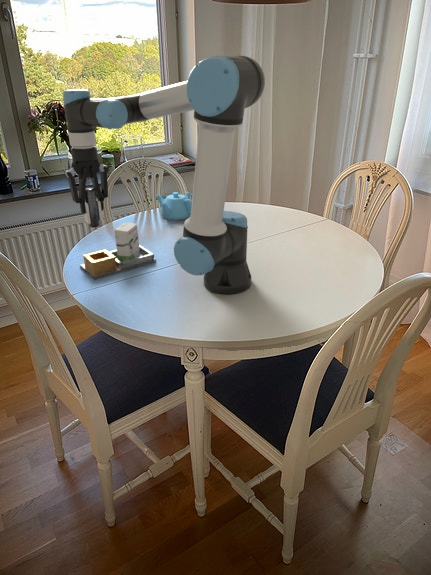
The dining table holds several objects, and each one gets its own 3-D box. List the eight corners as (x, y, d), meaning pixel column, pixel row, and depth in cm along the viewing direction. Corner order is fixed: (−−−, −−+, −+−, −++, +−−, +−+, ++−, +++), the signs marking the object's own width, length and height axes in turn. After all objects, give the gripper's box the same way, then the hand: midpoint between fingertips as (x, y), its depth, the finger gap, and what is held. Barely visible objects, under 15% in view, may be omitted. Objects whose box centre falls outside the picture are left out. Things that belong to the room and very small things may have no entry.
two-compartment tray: (156, 261, 156) (155, 248, 154) (94, 279, 144) (92, 265, 142) (140, 251, 165) (138, 238, 163) (80, 267, 153) (78, 253, 151)
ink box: (130, 263, 153) (127, 231, 147) (117, 262, 154) (113, 230, 148) (140, 254, 160) (137, 222, 154) (127, 252, 161) (124, 221, 156)
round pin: (101, 226, 144) (96, 189, 138) (91, 228, 142) (86, 191, 136) (97, 223, 146) (92, 187, 141) (87, 225, 144) (82, 188, 139)
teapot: (161, 223, 192) (159, 199, 187) (157, 212, 205) (155, 189, 199) (196, 220, 194) (195, 196, 189) (190, 209, 207) (189, 187, 202)
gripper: (104, 141, 139) (112, 213, 150) (51, 147, 131) (64, 223, 142) (114, 144, 134) (122, 219, 145) (60, 151, 125) (73, 230, 136)
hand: (94, 221), depth 143 cm, fingers closed on round pin, 3 cm apart
